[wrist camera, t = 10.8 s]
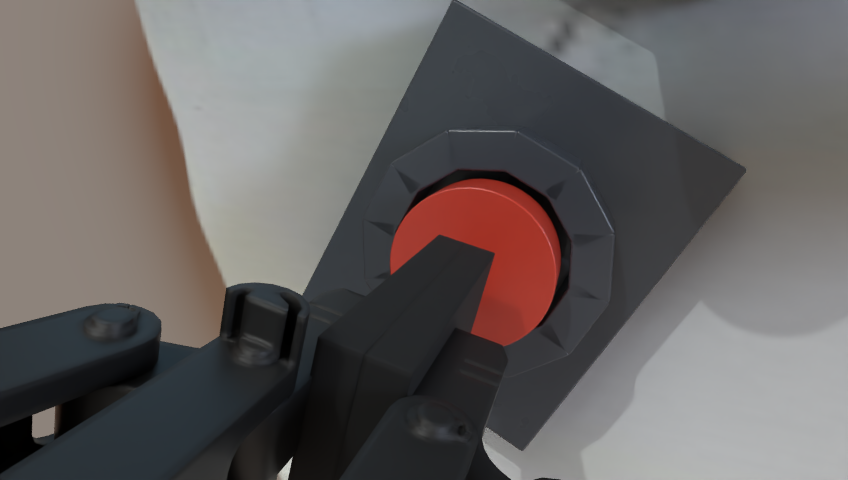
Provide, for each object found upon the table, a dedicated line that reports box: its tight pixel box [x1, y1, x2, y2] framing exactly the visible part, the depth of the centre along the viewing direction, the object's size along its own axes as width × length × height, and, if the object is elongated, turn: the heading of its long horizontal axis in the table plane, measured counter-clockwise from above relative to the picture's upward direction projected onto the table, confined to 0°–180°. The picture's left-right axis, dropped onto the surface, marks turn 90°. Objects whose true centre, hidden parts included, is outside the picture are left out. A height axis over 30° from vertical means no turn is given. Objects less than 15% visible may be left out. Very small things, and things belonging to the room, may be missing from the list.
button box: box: [302, 0, 746, 451], centre depth 19 cm, size 12×10×4 cm
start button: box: [390, 178, 561, 346], centre depth 17 cm, size 5×5×2 cm
